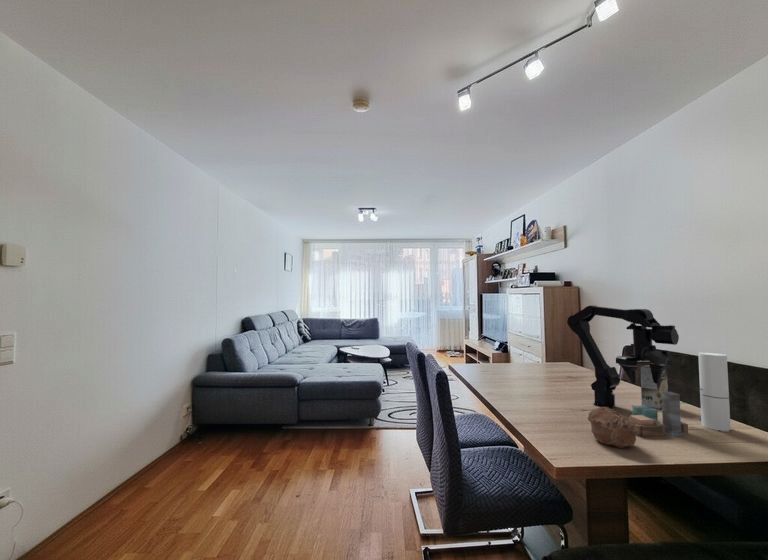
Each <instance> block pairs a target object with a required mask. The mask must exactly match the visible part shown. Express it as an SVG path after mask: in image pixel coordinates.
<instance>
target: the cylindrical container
mask: <svg viewBox="0 0 768 560" xmlns="http://www.w3.org/2000/svg"><path fill="white" fill-rule="evenodd" d="M698 373H699V374H698V376H699V394H700V395H699V398H700V399H699V400H700V417H701V422H700V423H701V426H702V427H704V428H707V429H710V430H713V429H714V430H715V431H718V430H721V431H720V432H730V431H729V430H731V429H732V428H731V413H730V410H731V409H730V393H729V392H730V391H729V372H728V354H724V353H716V352H704V351H703V352H698Z"/></svg>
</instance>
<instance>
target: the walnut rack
mask: <svg viewBox="0 0 768 560" xmlns="http://www.w3.org/2000/svg"><path fill="white" fill-rule="evenodd" d="M653 422H654V425H637V424H635V425H636V427H637V428H638V430H639V432H638V433H637V435H636V437H638V436H639V437H663V436H664V435H666V433H665V425H663V424H660V423H658V422H655V421H653ZM681 431H682V432H683V435H684V434H685V435H687V434H689V424H688V423H686V422H683V421H681Z"/></svg>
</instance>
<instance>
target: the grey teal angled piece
mask: <svg viewBox="0 0 768 560" xmlns="http://www.w3.org/2000/svg"><path fill="white" fill-rule="evenodd" d="M680 396H681V395H680V393H677V392H673V391H668V392H662V408H661V410H662V422H661V421H659V419H658V418H659V417H658V416H659V415H658V413H659V412H658V409H657V408H653V407H648V406H644V405H632V415H643V416H645V417H648V418H650V419H653V421H655V422H658V423H660V424H663V425H665V434H667V435H670V436H672V437H675V436H676V437H677V436H679V437H680V436H684V434H683V432H682V431H681V422H682V421H681V403H680V402H681V401H680V400H681V399H680Z"/></svg>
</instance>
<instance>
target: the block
mask: <svg viewBox="0 0 768 560" xmlns="http://www.w3.org/2000/svg"><path fill="white" fill-rule="evenodd" d="M629 419H630V420H631V421H632V422H633V423H635V424H637V425H654V422H653V419H650V418H648V417H645V416H643V415H633V414H631V415H629Z"/></svg>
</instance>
